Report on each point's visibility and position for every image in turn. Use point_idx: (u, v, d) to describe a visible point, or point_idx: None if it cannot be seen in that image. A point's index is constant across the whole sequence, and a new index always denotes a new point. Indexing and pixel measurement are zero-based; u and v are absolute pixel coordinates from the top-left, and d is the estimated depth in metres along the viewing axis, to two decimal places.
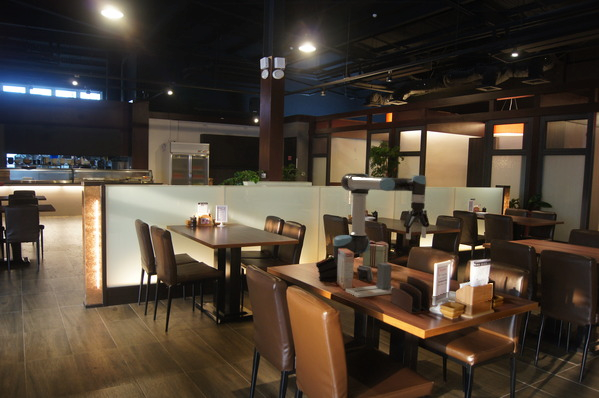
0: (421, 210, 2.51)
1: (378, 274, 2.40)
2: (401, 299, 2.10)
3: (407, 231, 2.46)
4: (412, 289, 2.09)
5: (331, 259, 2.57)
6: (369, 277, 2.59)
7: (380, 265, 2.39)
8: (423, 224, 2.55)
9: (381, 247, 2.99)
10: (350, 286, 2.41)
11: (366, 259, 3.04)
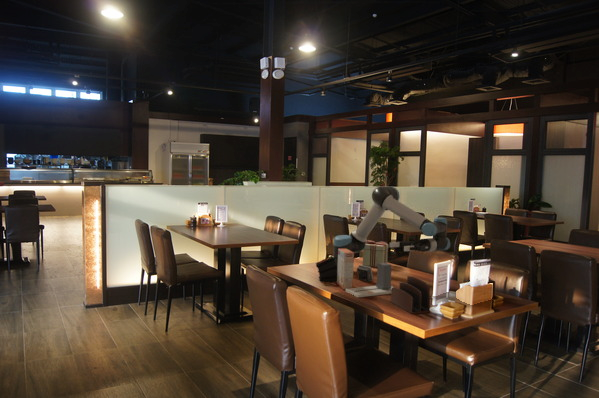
0: None
1: (378, 274, 2.40)
2: (401, 299, 2.10)
3: (412, 249, 2.38)
4: (412, 289, 2.09)
5: (331, 259, 2.57)
6: (369, 277, 2.59)
7: (380, 265, 2.39)
8: (401, 244, 2.52)
9: (381, 247, 2.99)
10: (350, 286, 2.41)
11: (366, 259, 3.04)
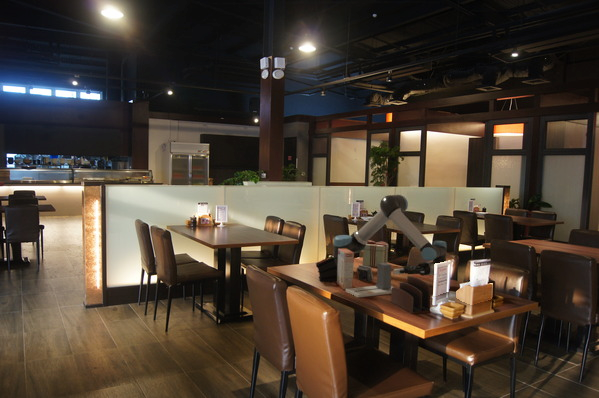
0: None
1: (378, 274, 2.40)
2: (401, 299, 2.10)
3: (402, 272, 2.43)
4: (413, 289, 2.09)
5: (331, 259, 2.57)
6: (369, 277, 2.59)
7: (380, 265, 2.39)
8: (405, 270, 2.47)
9: (381, 247, 2.99)
10: (350, 286, 2.41)
11: (366, 259, 3.04)
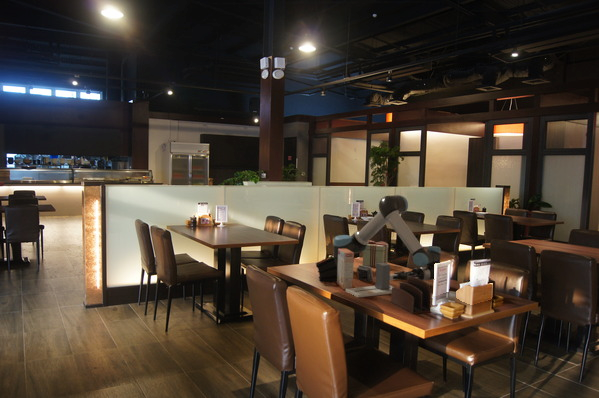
0: None
1: (377, 274, 2.40)
2: (402, 299, 2.11)
3: (396, 278, 2.41)
4: (413, 289, 2.09)
5: (331, 259, 2.57)
6: (369, 277, 2.59)
7: (379, 265, 2.38)
8: None
9: (381, 247, 2.99)
10: (350, 286, 2.41)
11: (366, 259, 3.04)
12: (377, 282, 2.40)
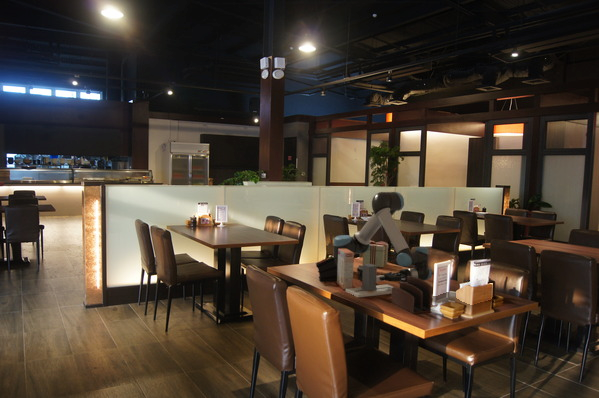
0: None
1: (363, 275, 2.36)
2: (402, 299, 2.11)
3: (382, 279, 2.37)
4: (413, 289, 2.10)
5: (331, 259, 2.57)
6: None
7: (365, 266, 2.35)
8: None
9: (381, 247, 2.99)
10: (350, 286, 2.41)
11: (366, 259, 3.04)
12: (364, 283, 2.36)
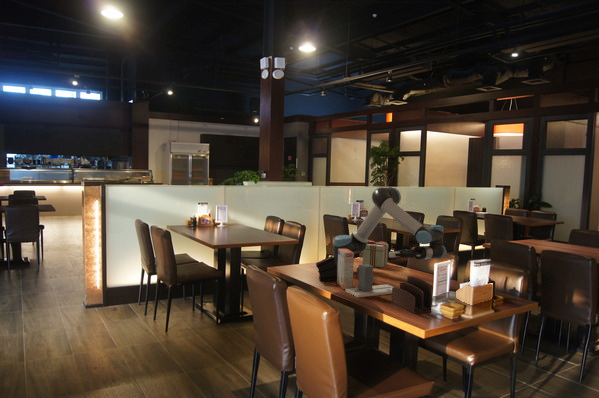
0: None
1: (359, 276, 2.35)
2: (402, 298, 2.11)
3: (398, 255, 2.40)
4: (414, 289, 2.10)
5: (331, 259, 2.57)
6: None
7: (361, 267, 2.33)
8: None
9: (381, 247, 2.99)
10: (350, 286, 2.41)
11: (366, 259, 3.04)
12: (360, 284, 2.35)
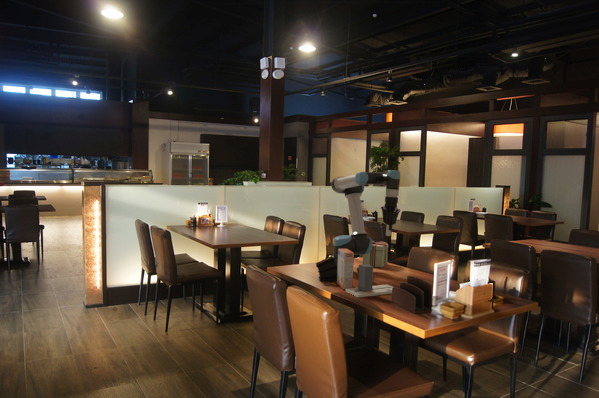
0: (393, 204, 2.54)
1: (359, 276, 2.35)
2: (403, 298, 2.11)
3: None
4: (414, 289, 2.10)
5: (331, 259, 2.57)
6: None
7: (361, 267, 2.33)
8: None
9: (381, 247, 2.99)
10: (350, 286, 2.41)
11: (366, 259, 3.04)
12: (360, 284, 2.35)
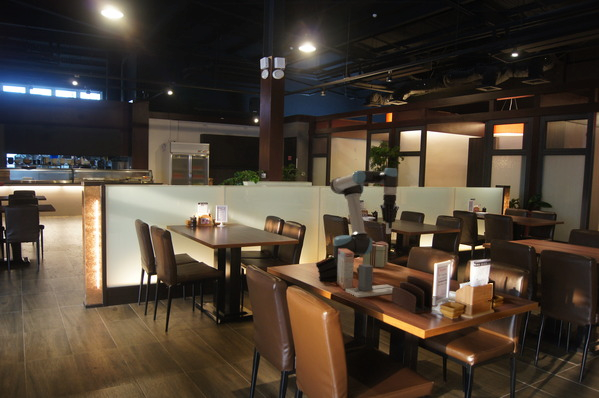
0: (392, 202, 2.54)
1: (359, 276, 2.35)
2: (403, 298, 2.11)
3: None
4: (414, 289, 2.10)
5: (331, 259, 2.57)
6: None
7: (361, 267, 2.33)
8: None
9: (381, 247, 2.99)
10: (350, 286, 2.41)
11: (366, 259, 3.04)
12: (360, 284, 2.35)
